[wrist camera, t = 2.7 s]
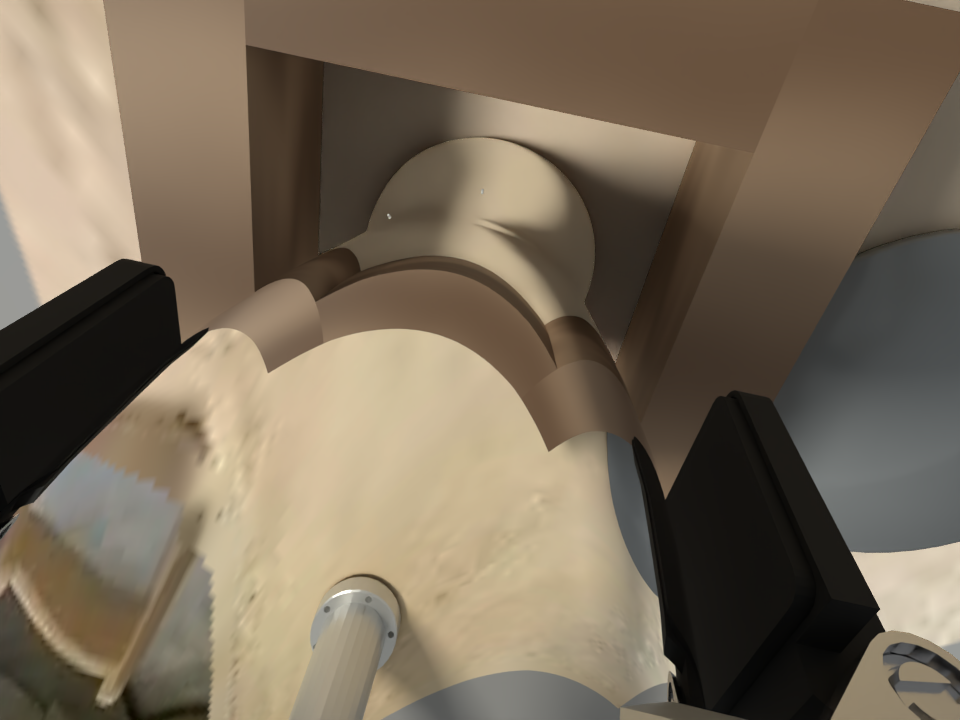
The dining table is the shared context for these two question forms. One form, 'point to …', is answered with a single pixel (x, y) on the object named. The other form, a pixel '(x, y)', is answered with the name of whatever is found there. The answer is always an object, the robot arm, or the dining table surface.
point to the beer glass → (366, 492)
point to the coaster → (885, 397)
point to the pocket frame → (569, 89)
